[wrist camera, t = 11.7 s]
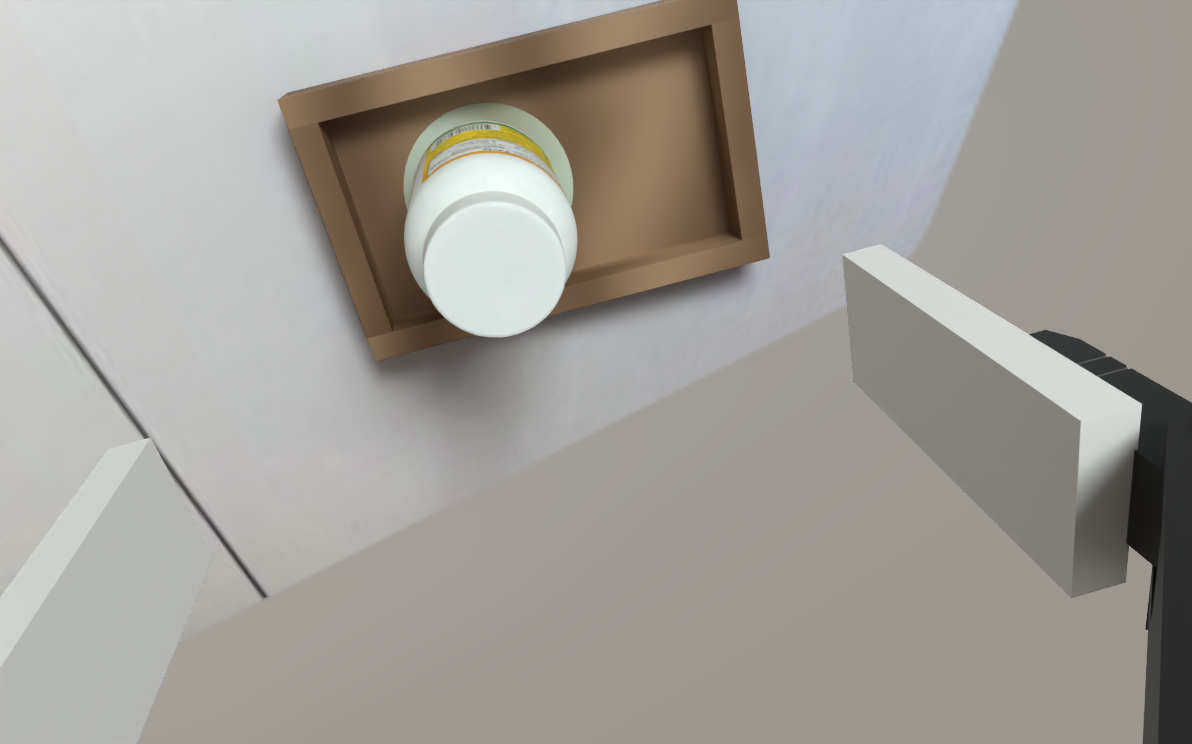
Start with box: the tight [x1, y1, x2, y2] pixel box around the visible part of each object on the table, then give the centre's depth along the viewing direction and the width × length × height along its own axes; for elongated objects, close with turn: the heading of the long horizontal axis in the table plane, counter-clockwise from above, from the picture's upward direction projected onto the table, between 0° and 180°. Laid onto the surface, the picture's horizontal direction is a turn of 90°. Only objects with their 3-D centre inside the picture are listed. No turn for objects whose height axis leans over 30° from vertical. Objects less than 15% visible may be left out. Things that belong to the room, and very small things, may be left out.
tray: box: [278, 0, 770, 361], centre depth 32 cm, size 16×10×2 cm, turn 102°
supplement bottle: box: [404, 120, 577, 338], centre depth 27 cm, size 5×5×10 cm
